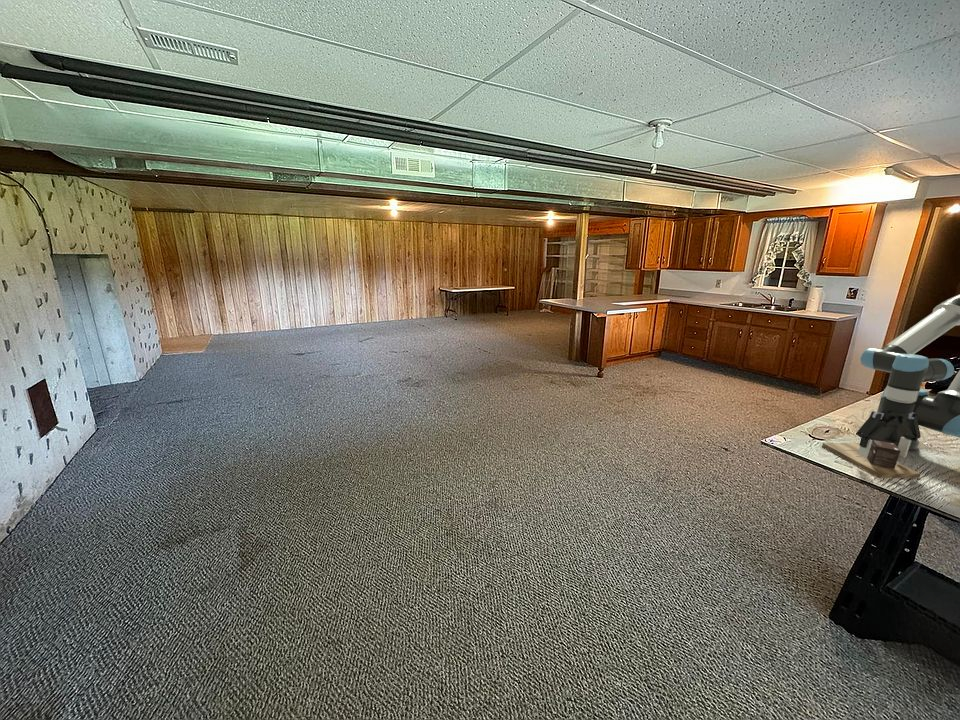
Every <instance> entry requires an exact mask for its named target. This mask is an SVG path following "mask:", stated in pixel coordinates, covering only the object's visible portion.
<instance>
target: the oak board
mask: <svg viewBox="0 0 960 720" xmlns="http://www.w3.org/2000/svg"><path fill="white" fill-rule="evenodd" d="M859 444H860V442H822V445H821V447H822V448H824V449H826V450H828V451H830V452H832V453H834V454H835V455H837V456H839V457H841V458H843V459H845V460H846V461H848V462H850V463H851V464H853V465H854V466H857V467H858V468H860V469H862V470H863V471H866V472H868V473H869V474H871V475H873V476H875V477H877V478H887V479H888V478H895V479H896V478H899V479H901V478H902V479H903V478H905V479H906V478H907V479H908V478H910V479H911V478H913V479H915V478H916V479H917V478H921V475H922V473H921V472H918V471H917V470H914V469H913V468H910V467H908V466H906V465H904V464H902V463H900V462H898V461H897V463H896V466H895V469H891V468H886V467H882V466H877V465H872V464H871V463H870V462H869V460H868V458H867V457H864V456H862V455H860V454H858V451H859V448H860V446H859Z"/></svg>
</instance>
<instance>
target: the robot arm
mask: <svg viewBox="0 0 960 720" xmlns="http://www.w3.org/2000/svg"><path fill="white" fill-rule="evenodd" d="M956 326H960V294H957V295H954V296H952V297H950V298H948V299H946V300H944V301H942V302H940V303H939V304H938V305H936V306H934V308H932V312H931V313H930V314H928V315H927V316H925V317H924V318H922V319H921V320H920V321H918V322H917V323H916V324H914V325H913V326H911V327H909V329H907V330H906V331H904V332H903V333H902V334H900V335H898V336H897V337H896V338H894V339H893V340H891V341H890V342H888V343H886V345H883V346H882V347H881V348H877V347H874V348H873V347H870V348H866V349H865V350H864V351H863V352H862V353H861V355H860V359H859V360H860V364H861V365H862V366H863V367H865V368H868V369H873V370H875V371H882V372H885V373H889V378H888V382H887V385H886V387H885V388H884V389H883V392H882V394H881V395H880V400H879V403H878V407H877V410H876V411H874V410H873V411H871V412H870V415H869V417H868V419H866V420H865V421H864V423H863V424H862V426H861V427H859V429H858V430H857V431H856V433H855V435H856V436H857V437H860V440H859V446H860V448H859V451H858V454H860V455H862V456H864V457H868V454H869V450H870V447H871V444H872V440H878V441H883V442H888V443H894V444H896V446H897V447H898V448H899V449H900V451H901V452H900V454H899V457H902V458H906V457H907V455H908V452H909V451H916V450H918V448H919V445H920V442H919V439H920V438H921V437H922V436H921V431H920V427H923V428H926V429H929V430H932V431H935V432H938V433H941V434H944V435H946V436H952V437H955V438H957V439H958V438H959V439H960V370H958V372H957V373H956V375H955V377H954V379H953V380H952V382H951V383H950V384H949V386H948V388H947V389H945V390H942V391H939V392H937V394H936V395H935V396H932V395H930V391H929V390H927V389H923V388H921V386H922V384H923V383H926V382H927V383H928V382H940V381H944V380H947V379H949V378H951V377H952V376H953V375H954V373H955V368H954V365H953V364H952V363H951V362H950V361H948V360H947V359H944V358H937V357H936V358H928V357H927V356H923V355H920V354H916V353H918V352H919V351H921V350H922V349H923V348H925V347H927V346H928V345H930V344H931V343H932V342H934V341H936V339H938V338H939V337H941V336H943V335H944V334H945V333H947V332H948V331H949V330H951V329H953V328H954V327H956Z"/></svg>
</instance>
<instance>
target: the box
mask: <svg viewBox="0 0 960 720" xmlns="http://www.w3.org/2000/svg"><path fill="white" fill-rule="evenodd" d="M900 452H901V451H900V449H899V448H898V447H897V446H896V444H894V443H888V442H883V441H878V440H872V444H871V447H870V450H869V454H868V457H867V458H868V460H869V462H870V463H871V464H872V465H877V466H882V467H886V468H891V469H895V466H896V463H897V462H898V460H899V457H900V455H899V454H900Z"/></svg>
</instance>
